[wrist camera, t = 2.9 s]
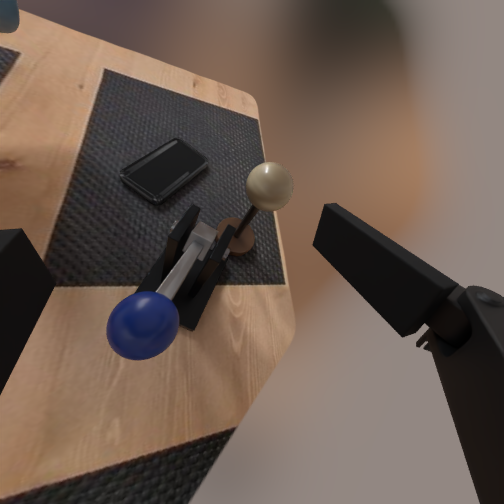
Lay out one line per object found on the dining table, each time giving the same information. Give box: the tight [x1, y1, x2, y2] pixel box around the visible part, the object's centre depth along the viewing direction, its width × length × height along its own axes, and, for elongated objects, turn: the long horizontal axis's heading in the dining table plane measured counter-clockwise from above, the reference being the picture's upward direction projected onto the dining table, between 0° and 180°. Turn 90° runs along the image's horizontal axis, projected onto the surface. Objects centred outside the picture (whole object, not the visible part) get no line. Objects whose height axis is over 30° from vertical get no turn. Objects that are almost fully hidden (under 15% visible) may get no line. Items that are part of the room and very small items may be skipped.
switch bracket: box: [134, 204, 236, 331], centre depth 26 cm, size 12×9×15 cm
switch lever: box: [106, 221, 219, 360], centre depth 17 cm, size 14×4×4 cm, turn 162°
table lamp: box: [215, 162, 293, 256], centre depth 32 cm, size 7×7×17 cm
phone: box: [120, 138, 208, 205], centre depth 39 cm, size 8×1×15 cm
